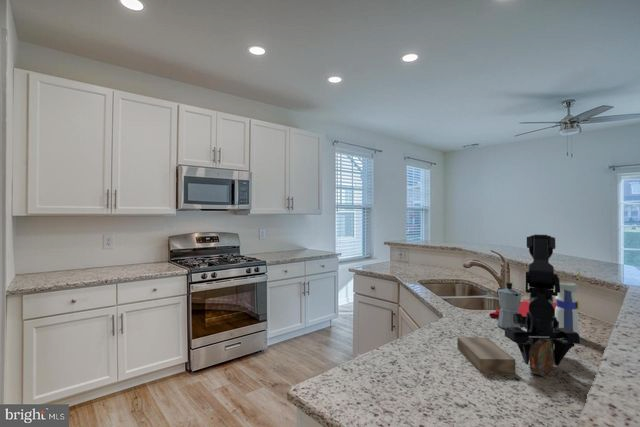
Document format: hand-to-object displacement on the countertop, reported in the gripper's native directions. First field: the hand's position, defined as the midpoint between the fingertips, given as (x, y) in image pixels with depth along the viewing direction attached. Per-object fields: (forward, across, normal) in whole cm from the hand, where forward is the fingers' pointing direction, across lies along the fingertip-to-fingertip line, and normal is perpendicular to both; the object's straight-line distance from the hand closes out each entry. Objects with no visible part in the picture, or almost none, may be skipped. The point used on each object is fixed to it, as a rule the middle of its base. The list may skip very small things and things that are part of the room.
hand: (541, 364), depth 96 cm
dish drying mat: (+2, -31, -58) cm, 66 cm away
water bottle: (+2, -29, -31) cm, 43 cm away
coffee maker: (+2, -11, -39) cm, 41 cm away
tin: (+2, 0, 0) cm, 2 cm away
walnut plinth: (+2, +14, -6) cm, 15 cm away
